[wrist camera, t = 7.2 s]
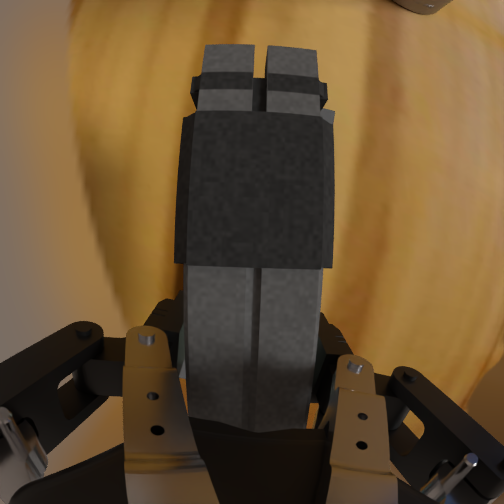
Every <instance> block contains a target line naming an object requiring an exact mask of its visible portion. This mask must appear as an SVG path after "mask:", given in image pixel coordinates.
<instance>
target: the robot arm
mask: <svg viewBox="0 0 504 504" xmlns="http://www.w3.org/2000/svg"><path fill="white" fill-rule="evenodd" d="M393 1H395V2H396V3H398V4H399V5H401V6H403V7H405V8H406V9H409V10H411V11H413V12H416V13H420V14H427V15H430V14H434V13H436V12H437V11H439V10H440V9H441V8H443V7H444V6H445V5H447V4H448V3H450V2H451V1H453V0H393ZM103 335H104V334H103V329H102V328H101V327H100V326H99V325H98V324H96V323H93V322H88V321H79V322H74V323H72V324H70V325H68V326H66V327H64V328H62V329H61V330H59V331H57V332H55V333H53V334H52V335H50V336H48V337H46V338H44V339H43V340H41V341H39V342H37V343H35V344H33V345H32V346H30V347H28V348H26V349H24V350H23V351H21V352H19V353H17V354H16V355H14V356H12V357H10V358H9V359H7V360H5V361H3V362H2V363H0V498H1V499H2V501H3V502H4V503H5V504H491V503H492V502H493V501H494V500H495V499H496V498H498V497H499V496H500V495H501V494H502V493H503V492H504V446H503V445H502V444H501V443H500V442H498V441H497V440H496V439H495V438H494V437H493V436H492V435H491V434H490V433H488V432H487V431H486V430H485V429H484V428H483V427H482V426H481V425H479V424H478V423H477V422H476V421H475V420H474V419H472V417H470V416H469V415H468V414H467V413H466V412H465V411H464V410H462V409H461V408H460V407H459V406H458V405H457V404H456V403H454V402H453V401H452V400H451V399H450V398H449V397H448V396H446V395H445V394H444V393H443V392H442V391H441V390H440V389H438V388H437V387H436V386H435V385H434V384H433V383H431V382H430V381H429V380H428V379H427V378H426V377H424V376H423V375H422V374H421V373H420V372H418V371H417V370H415V369H413V368H410V367H405V366H400V367H396V368H395V369H394V371H393V373H392V375H391V376H386V375H381V374H377V373H374V369H373V366H372V364H371V363H370V362H369V361H367V360H366V359H364V358H362V357H360V356H357V355H354V354H353V352H352V351H351V349H350V347H349V345H348V344H347V343H346V340H345V339H344V338H343V335H342V333H341V332H340V330H339V329H338V328H336V327H335V326H334V325H333V324H329V323H328V321H327V319H326V318H325V316H324V314H323V313H322V312H320V320H319V331H318V341H317V351H316V360H315V368H314V376H313V384H312V392H311V399H310V403H319V407H318V409H317V411H316V414H315V418H314V422H313V427H312V429H297V428H291V429H284V430H277V431H269V432H259V433H257V432H252V431H248V430H245V429H241V428H238V427H235V426H232V425H228V424H225V423H222V422H219V421H212V420H206V419H200V418H194V417H189V416H188V414H187V410H186V406H185V402H184V398H183V394H182V389H181V385H180V381H179V375H180V372H181V368H182V365H183V362H184V359H185V347H184V293H183V291H182V290H180V291H179V293H178V295H177V296H176V298H175V300H172V299H164V300H162V301H160V302H159V303H158V304H157V306H156V307H155V309H154V310H153V311H152V314H150V316H149V317H148V319H147V320H146V322H145V323H144V325H143V326H136V327H133V328H131V329H130V330H128V332H127V334H126V337H125V338H111V337H104V336H103ZM71 373H72V375H73V378H72V379H71V380H70V381H68V382H67V383H66V384H64V385H63V386H61V387H60V388H59V389H57V388H58V385H59V383H60V381H61V380H63V379H64V378H65V377H67V376H68V375H70V374H71ZM109 396H121V397H123V436H124V443H122V444H120V445H117V446H115V447H113V448H112V449H109V450H107V451H105V452H103V453H101V454H99V455H96V456H94V457H92V458H90V459H88V460H85V461H83V462H80V463H78V464H76V465H74V466H71V467H69V468H66V469H64V470H61V471H59V472H56V473H53V474H51V475H48V476H46V477H44V472H45V470H46V468H47V465H48V458H47V454H48V453H49V452H51V451H52V450H53V449H54V448H55V447H56V446H57V445H58V444H59V443H61V442H62V441H63V440H64V439H65V438H66V437H67V436H68V435H69V434H70V433H71V432H73V431H74V430H75V429H76V428H77V427H78V426H79V425H80V424H81V423H82V422H83V421H84V420H86V419H87V418H88V417H89V416H90V415H91V414H92V413H93V412H94V411H95V410H96V409H97V408H99V407H100V406H101V405H102V404H103V403H104V402H105V401H106V400H107V399H108V397H109ZM410 410H411V411H412V412H413V413H414V414H415V415H416V416H417V417H418V418H419V419H420V420H421V421H422V422H423V424H424V428H425V429H424V434H423V435H422V437H421V438H420V439H418V438H417V437H416V435H415V434H414V433H413V432H412V431H411V430H410V429H409V428H408V427H407V426H406V425H405V424H404V423H403V420H404V419H405V417H406V415H407V414H408V412H409V411H410ZM390 460H391V462H392V463H393V464H394V465H395V467H396V468H397V469H398V470H399V472H400V473H401V474H402V475H403V477H404V478H405V479H406V480H407V482H408V483H409V484H410V485H411V486H410V485H408V484H406V483H405V482H404V481H402V480H400V479H399V478H397V477H396V476H395V475H394V474H393V473H391V470H390Z"/></svg>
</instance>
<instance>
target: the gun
mask: <svg viewBox="0 0 504 504" xmlns="http://www.w3.org/2000/svg"><path fill="white" fill-rule="evenodd" d="M254 49H255V45H244V44H218V45H205V51H204V58H203V66H202V73H201V75H200V76H198V77H192V84H191V91H190V94H191V96H192V99H193V102H194V104H195V107H196V109H197V111H196V112H195V113H193V114H191V115H189V116H188V117H183V124H182V134H181V144H180V155H179V167H178V180H177V196H176V216H175V244H174V263H179V264H184V286H183V293H184V347H185V371H186V388H187V403H188V416H189V417H194V418H200V419H206V420H212V421H219V422H222V423H225V424H228V425H232V426H235V427H238V428H241V429H245V430H248V431H252V432H257V433H259V432H269V431H277V430H284V429H291V428H297V429H306V425H307V419H308V413H309V406H310V399H311V392H312V384H313V376H314V368H315V360H316V351H317V341H318V331H319V320H320V308H321V294H322V279H323V268H332V264H333V242H334V196H335V180H334V135H333V124H330V123H329V122H327V121H326V120H324V119H323V118H322V117H321V115H320V112H321V110H322V108H323V107H324V105H325V103H326V102H327V100H328V94H327V83H322V82H320V81H319V78H318V64H317V52H316V50H310V49H302V48H292V47H282V46H268V49H267V57H266V65H265V78H253V72H254Z"/></svg>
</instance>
